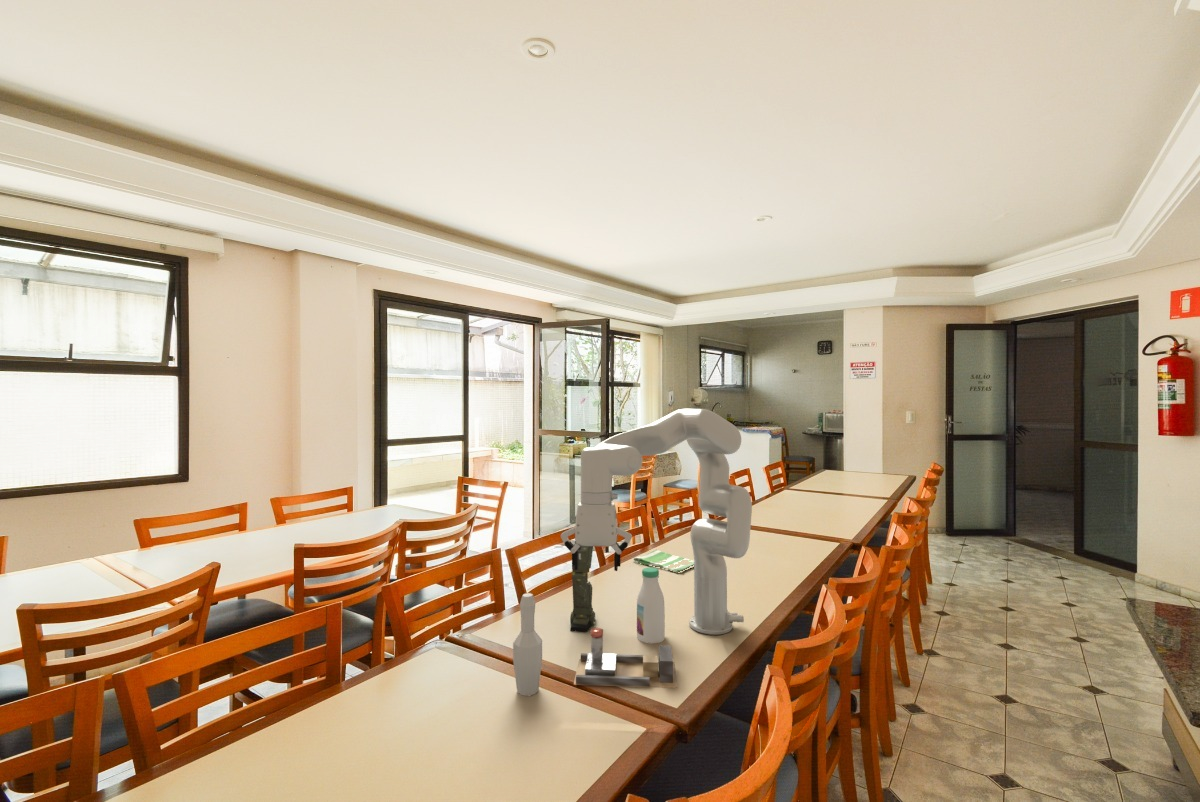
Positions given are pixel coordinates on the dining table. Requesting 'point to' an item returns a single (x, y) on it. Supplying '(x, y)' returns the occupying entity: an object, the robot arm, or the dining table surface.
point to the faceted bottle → (527, 650)
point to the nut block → (650, 666)
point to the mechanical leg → (582, 593)
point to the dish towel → (660, 556)
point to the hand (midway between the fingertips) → (596, 568)
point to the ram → (599, 657)
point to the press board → (632, 672)
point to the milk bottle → (650, 608)
